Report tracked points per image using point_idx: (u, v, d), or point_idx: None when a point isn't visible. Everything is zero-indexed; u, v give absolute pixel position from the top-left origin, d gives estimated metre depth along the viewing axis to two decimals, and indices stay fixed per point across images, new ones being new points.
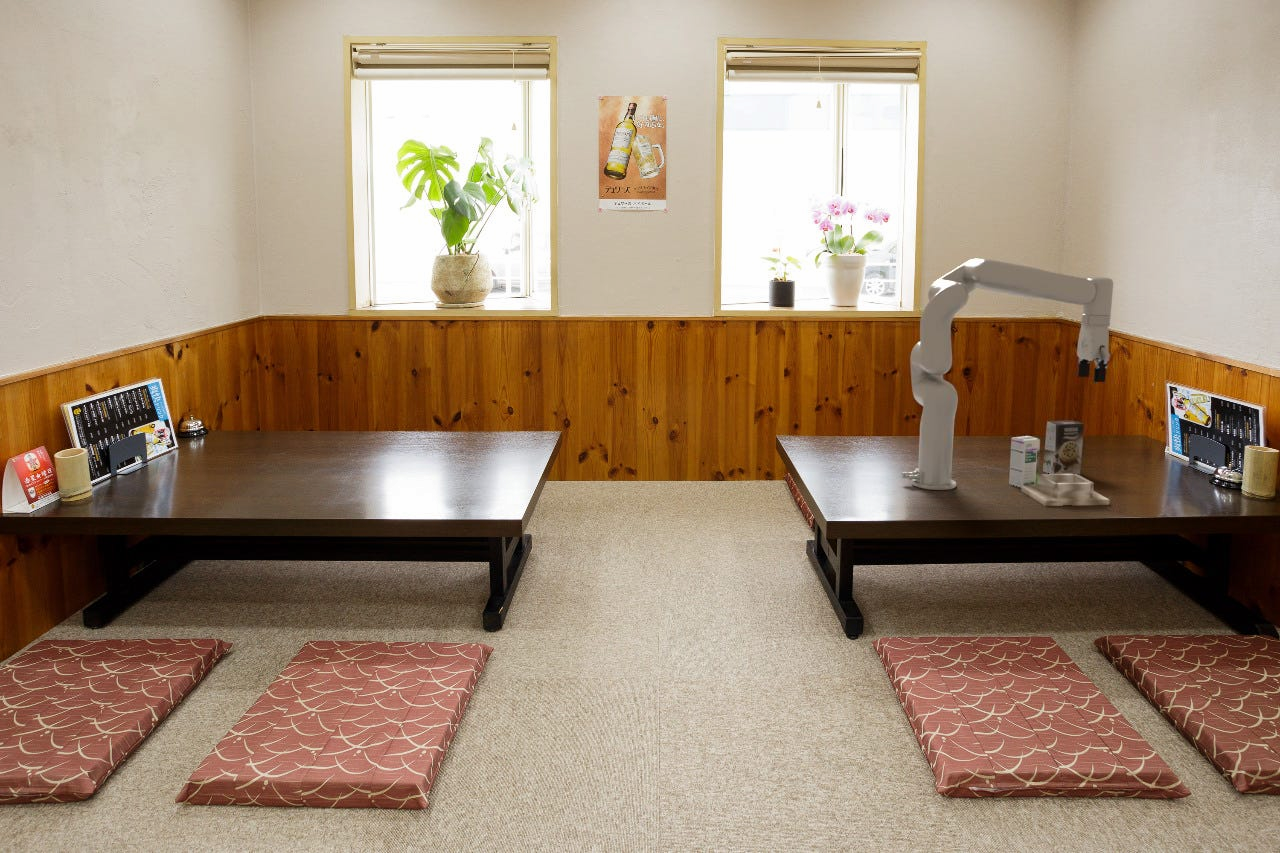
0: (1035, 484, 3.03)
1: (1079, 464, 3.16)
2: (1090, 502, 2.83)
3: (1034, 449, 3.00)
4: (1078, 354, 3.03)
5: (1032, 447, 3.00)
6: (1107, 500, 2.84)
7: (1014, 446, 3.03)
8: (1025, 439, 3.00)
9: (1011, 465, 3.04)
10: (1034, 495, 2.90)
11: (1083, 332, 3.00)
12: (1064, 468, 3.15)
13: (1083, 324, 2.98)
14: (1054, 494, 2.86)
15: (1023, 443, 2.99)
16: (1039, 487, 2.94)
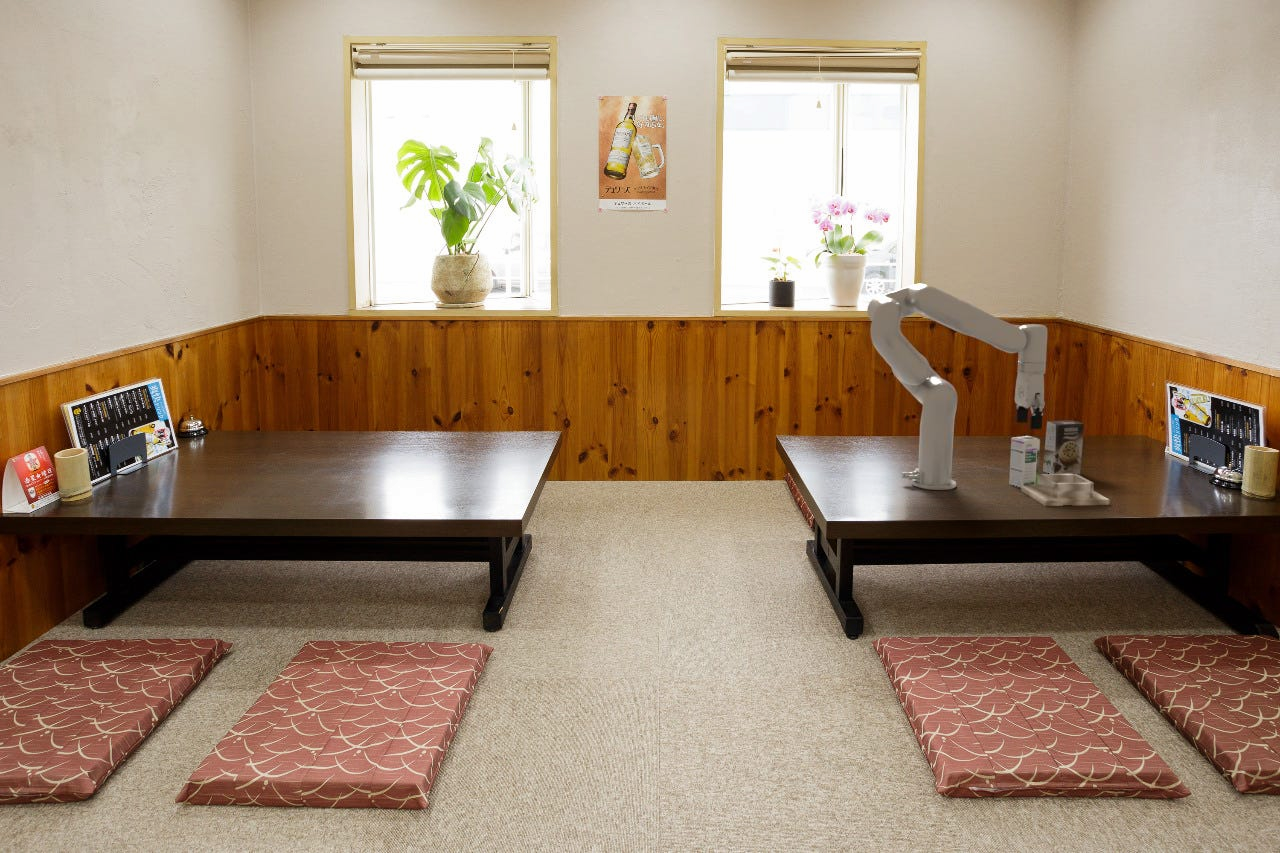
0: (1035, 484, 3.03)
1: (1079, 464, 3.16)
2: (1090, 502, 2.83)
3: (1034, 449, 3.00)
4: (1015, 400, 3.03)
5: (1032, 447, 3.00)
6: (1107, 500, 2.84)
7: (1014, 446, 3.03)
8: (1025, 439, 3.00)
9: (1011, 465, 3.04)
10: (1034, 495, 2.90)
11: (1019, 379, 3.00)
12: (1064, 468, 3.15)
13: (1019, 371, 2.98)
14: (1054, 494, 2.86)
15: (1023, 443, 2.99)
16: (1039, 487, 2.94)
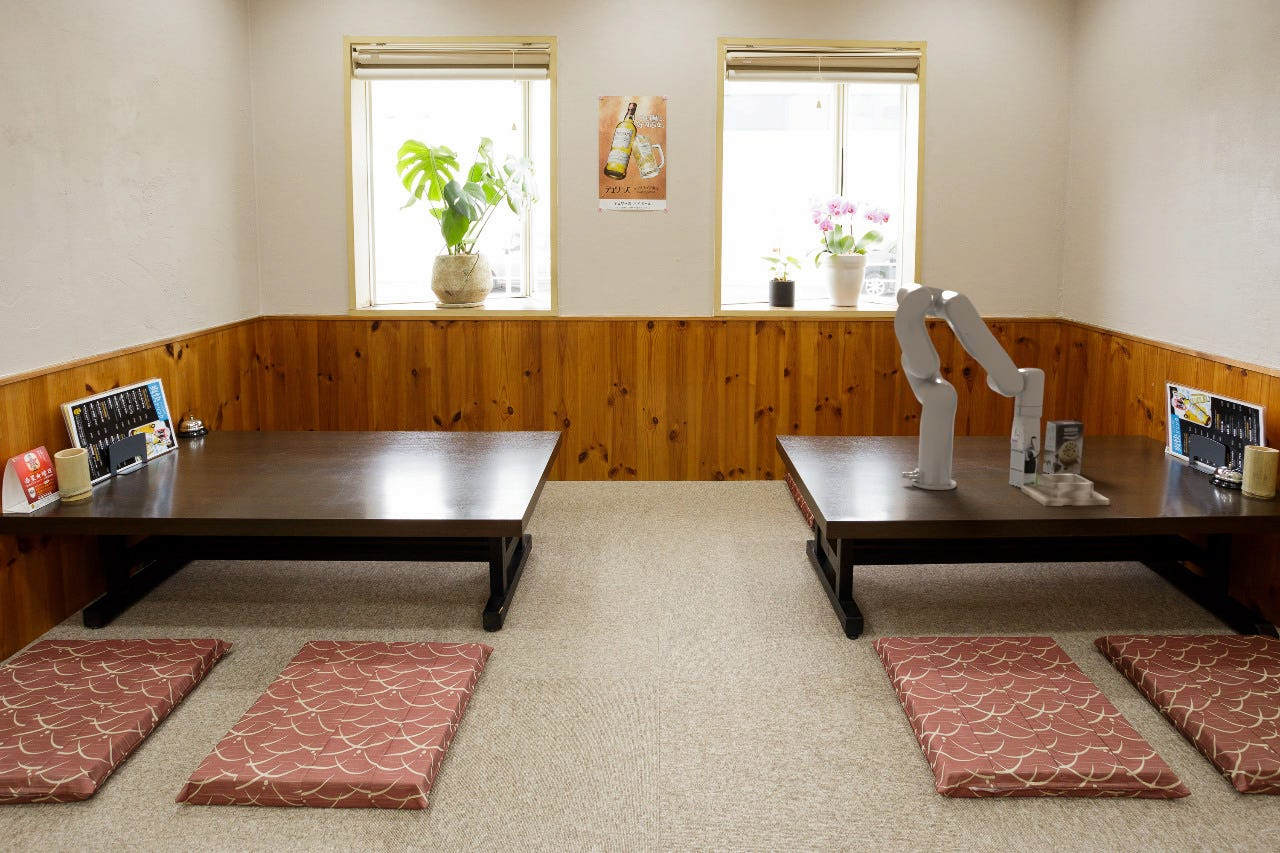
0: (1035, 484, 3.03)
1: (1079, 464, 3.16)
2: (1090, 502, 2.83)
3: None
4: None
5: None
6: (1107, 500, 2.84)
7: (1014, 446, 3.03)
8: None
9: (1011, 465, 3.04)
10: (1034, 495, 2.90)
11: (1016, 421, 3.02)
12: (1064, 468, 3.15)
13: (1015, 414, 3.00)
14: (1054, 494, 2.86)
15: None
16: (1039, 487, 2.94)
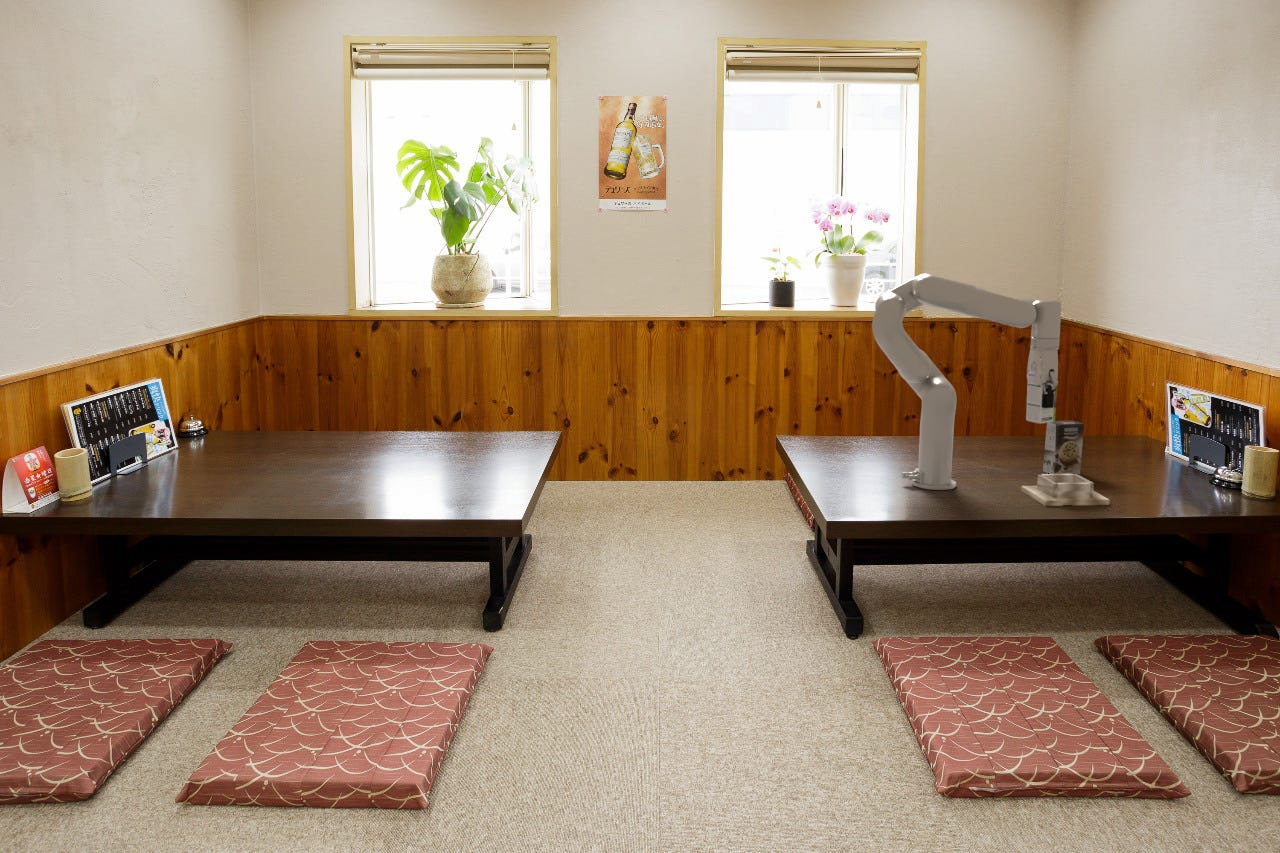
0: (1053, 419, 2.95)
1: (1079, 464, 3.16)
2: (1090, 502, 2.83)
3: None
4: None
5: None
6: (1107, 500, 2.84)
7: (1031, 381, 2.95)
8: None
9: (1028, 400, 2.97)
10: (1034, 495, 2.90)
11: (1032, 355, 2.94)
12: (1064, 468, 3.15)
13: (1032, 347, 2.92)
14: (1054, 494, 2.86)
15: None
16: (1039, 487, 2.94)
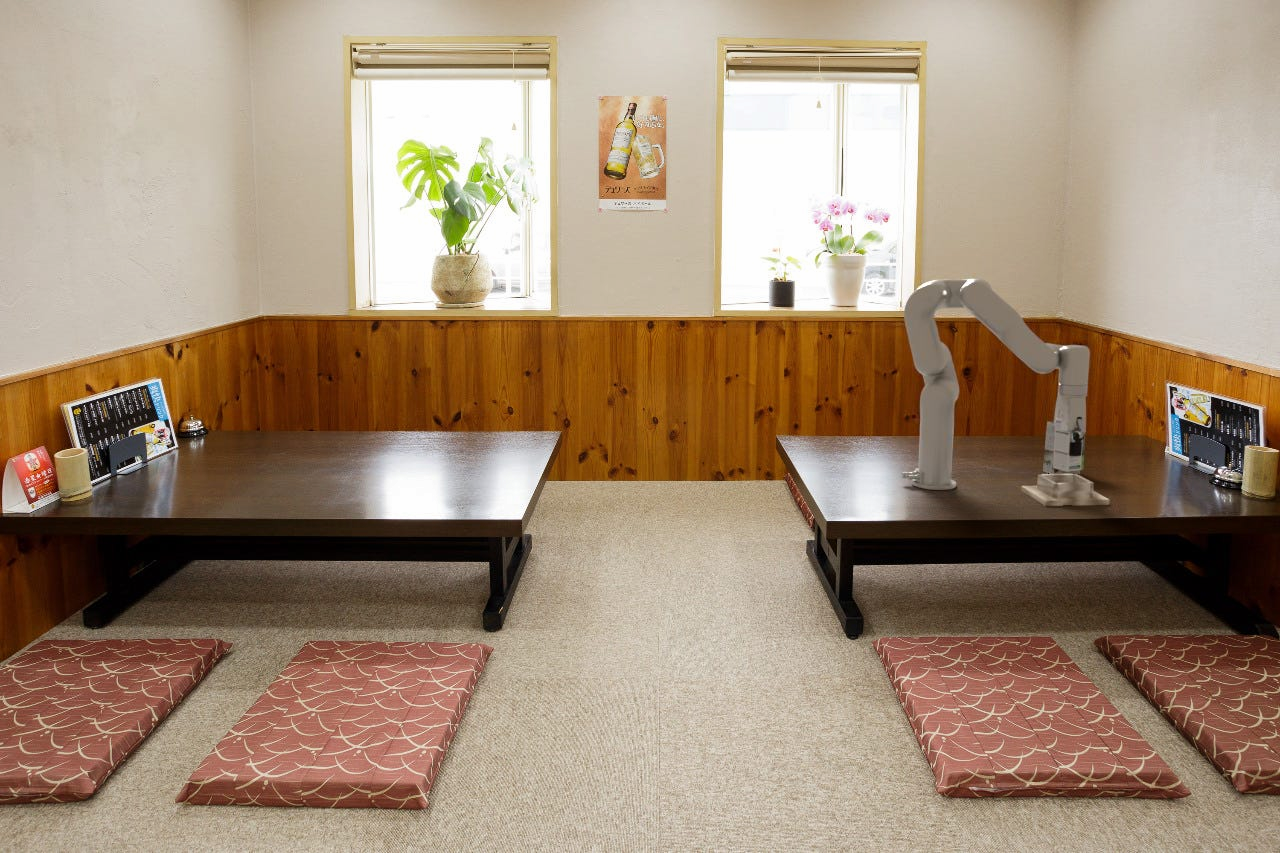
0: (1081, 467, 2.87)
1: None
2: (1090, 502, 2.83)
3: None
4: None
5: None
6: (1107, 500, 2.84)
7: (1058, 428, 2.87)
8: None
9: (1055, 447, 2.89)
10: (1034, 495, 2.90)
11: (1059, 402, 2.87)
12: None
13: (1059, 394, 2.85)
14: (1054, 494, 2.86)
15: None
16: (1039, 487, 2.94)
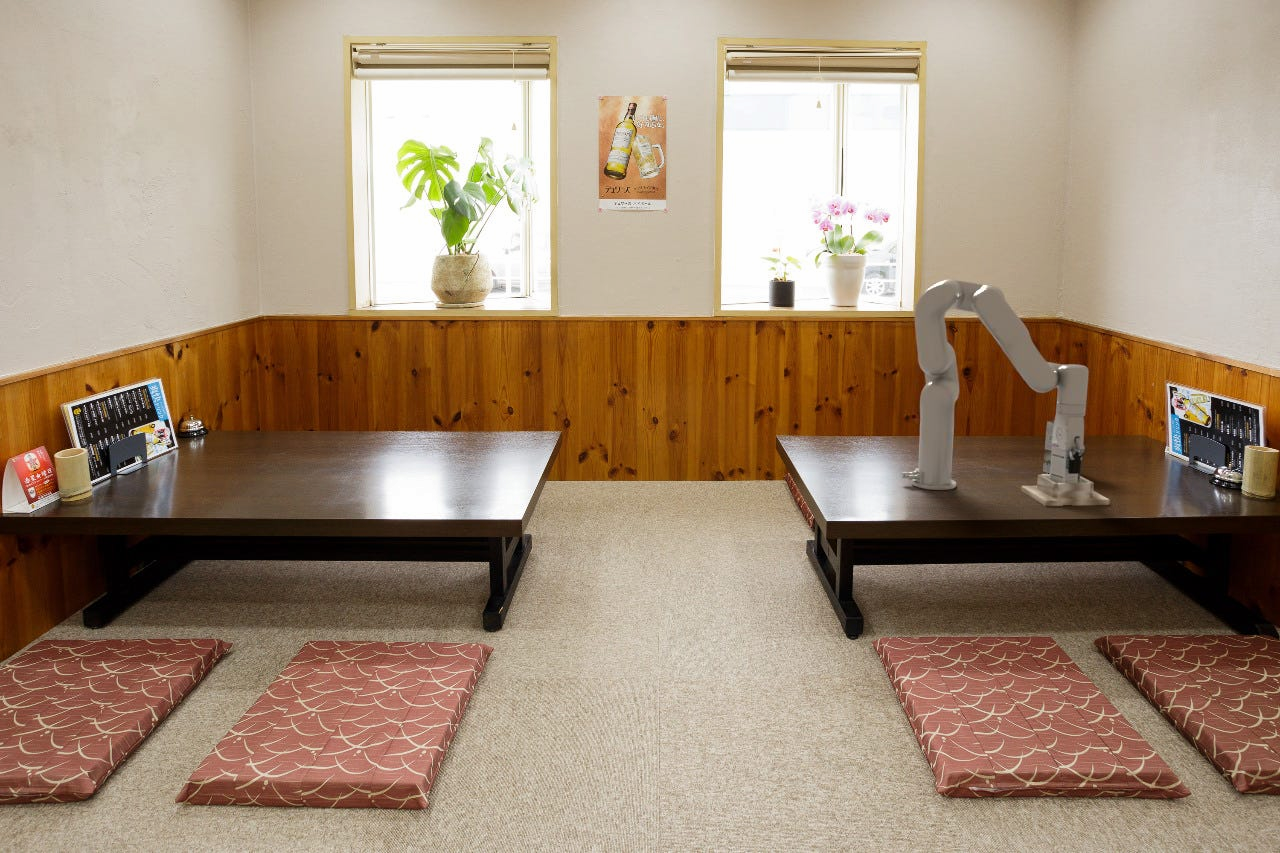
0: None
1: None
2: (1090, 502, 2.83)
3: None
4: None
5: (1074, 452, 2.86)
6: (1107, 500, 2.84)
7: (1055, 451, 2.89)
8: None
9: (1051, 470, 2.91)
10: (1034, 495, 2.90)
11: (1058, 421, 2.88)
12: None
13: (1057, 413, 2.86)
14: (1054, 494, 2.86)
15: None
16: (1039, 487, 2.94)
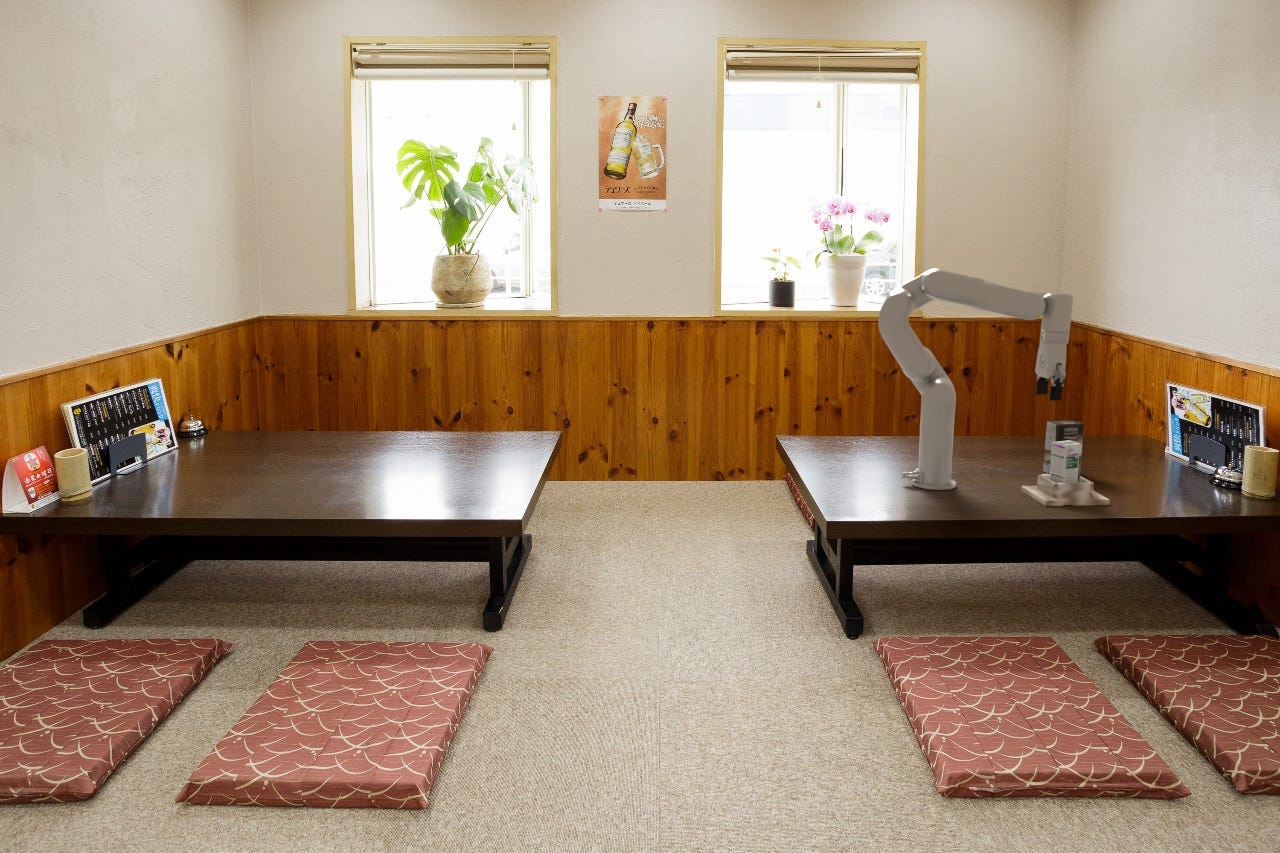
0: None
1: None
2: (1090, 502, 2.83)
3: (1076, 454, 2.87)
4: (1036, 371, 2.95)
5: (1074, 452, 2.86)
6: (1107, 500, 2.84)
7: (1055, 451, 2.89)
8: (1066, 444, 2.86)
9: (1051, 471, 2.91)
10: (1034, 495, 2.90)
11: (1041, 348, 2.91)
12: None
13: (1041, 340, 2.89)
14: (1054, 494, 2.86)
15: (1064, 448, 2.86)
16: (1039, 487, 2.94)
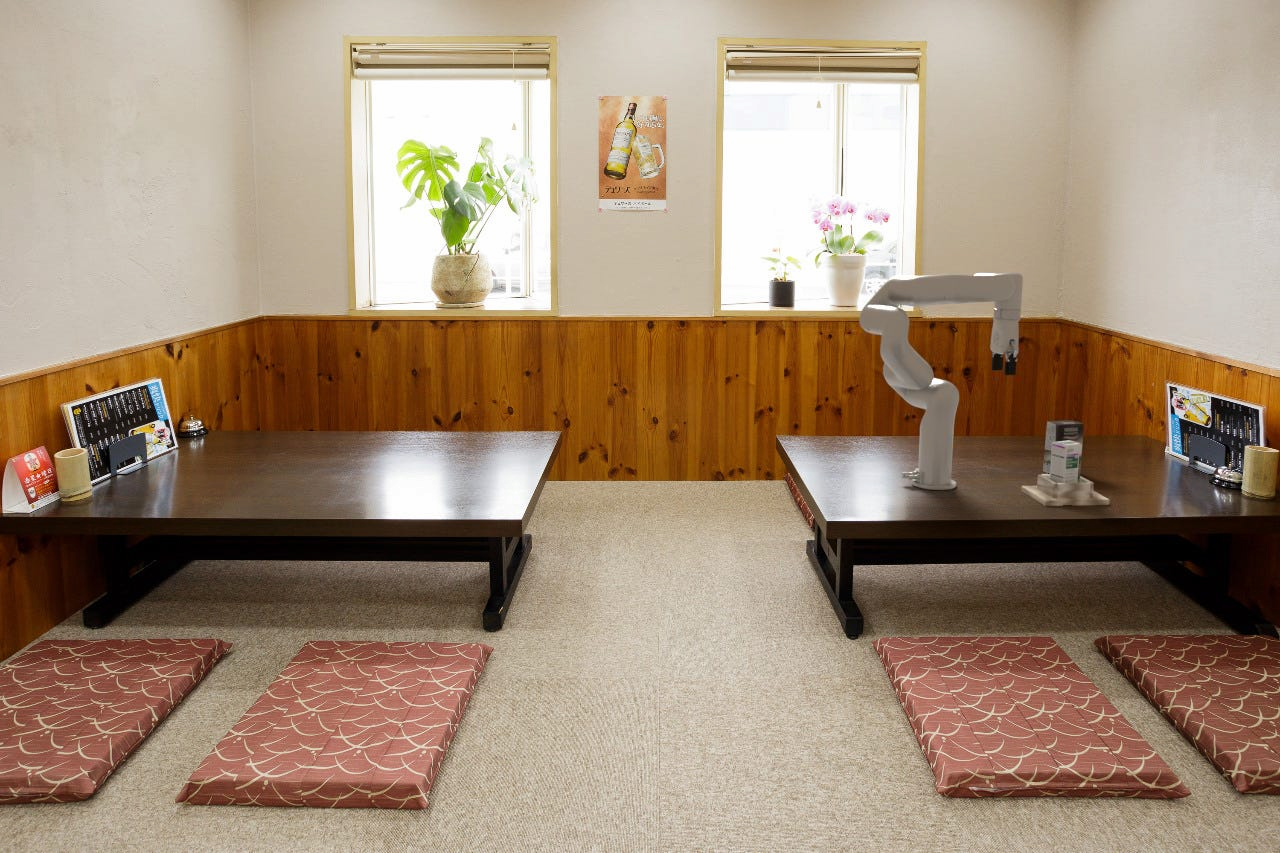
0: None
1: None
2: (1090, 502, 2.83)
3: (1076, 454, 2.87)
4: (991, 348, 3.10)
5: (1074, 452, 2.86)
6: (1107, 500, 2.84)
7: (1055, 451, 2.89)
8: (1066, 444, 2.86)
9: (1051, 471, 2.91)
10: (1034, 495, 2.90)
11: (995, 326, 3.06)
12: None
13: (994, 318, 3.04)
14: (1054, 494, 2.86)
15: (1064, 448, 2.86)
16: (1039, 487, 2.94)
